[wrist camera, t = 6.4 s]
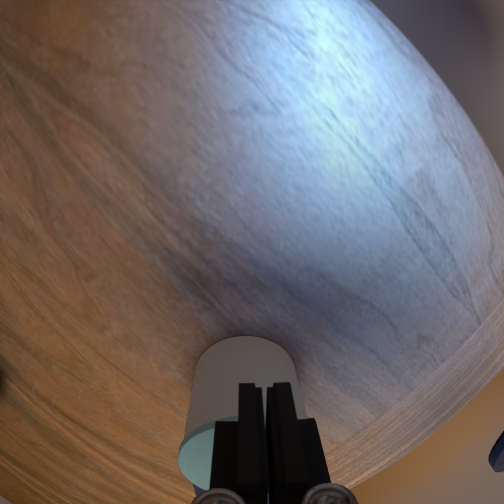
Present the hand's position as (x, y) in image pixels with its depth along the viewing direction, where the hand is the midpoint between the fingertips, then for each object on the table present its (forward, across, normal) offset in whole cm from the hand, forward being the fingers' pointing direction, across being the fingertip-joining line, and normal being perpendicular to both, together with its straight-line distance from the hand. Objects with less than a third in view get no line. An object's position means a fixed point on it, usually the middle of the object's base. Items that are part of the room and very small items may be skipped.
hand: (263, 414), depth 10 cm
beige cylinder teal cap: (+9, +1, +11) cm, 14 cm away
